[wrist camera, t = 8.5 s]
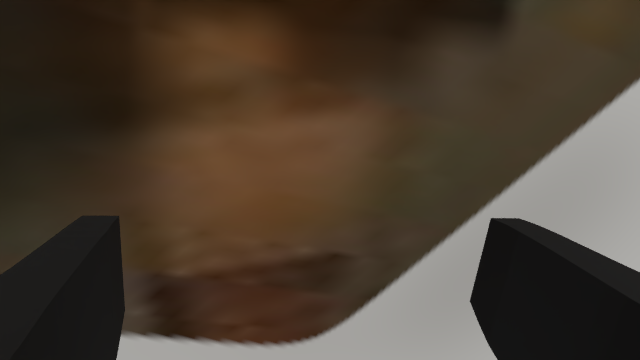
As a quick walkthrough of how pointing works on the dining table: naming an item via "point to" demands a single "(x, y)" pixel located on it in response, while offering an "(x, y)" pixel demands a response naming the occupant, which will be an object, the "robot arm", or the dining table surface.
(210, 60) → the dining table surface
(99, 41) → the dining table surface
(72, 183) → the dining table surface
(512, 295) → the robot arm
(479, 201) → the dining table surface
